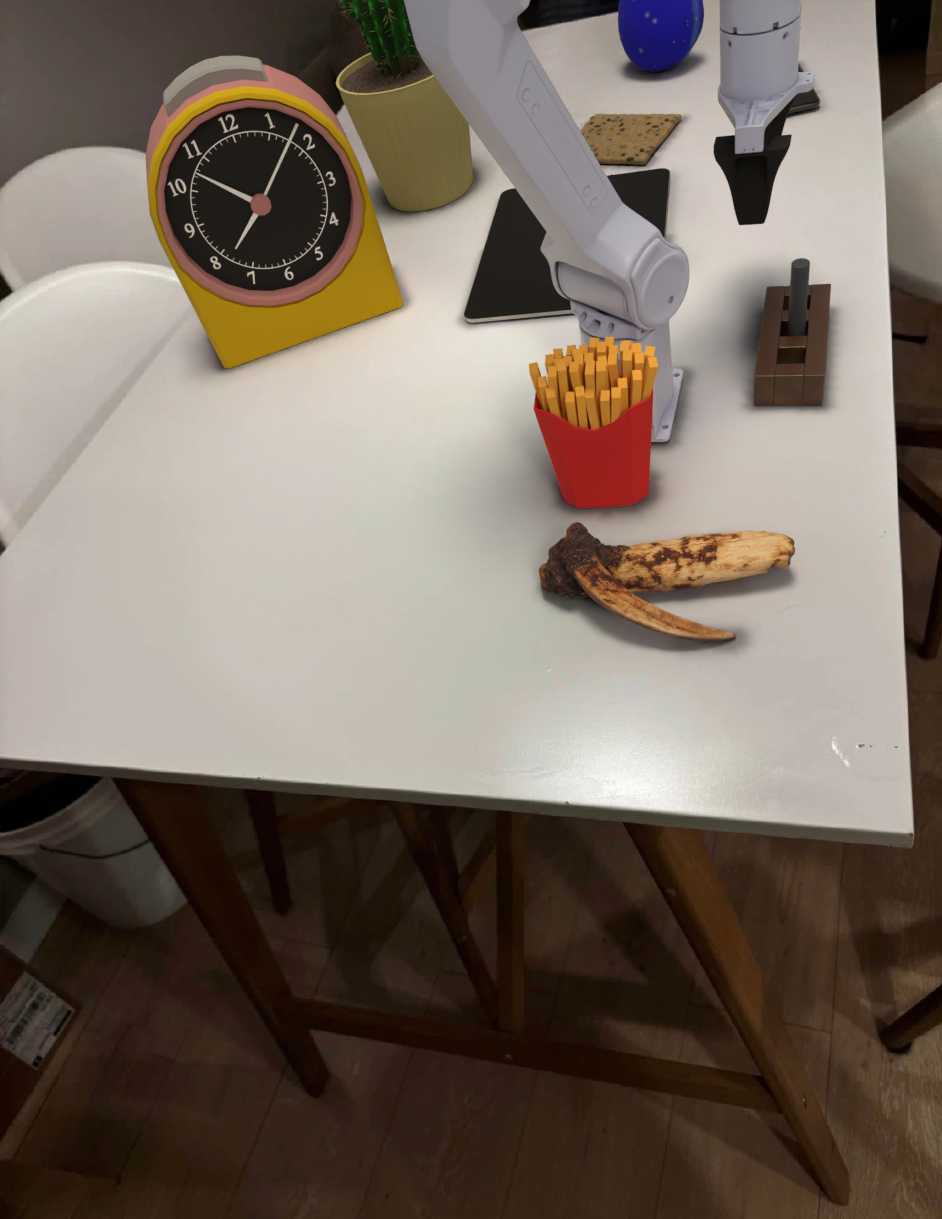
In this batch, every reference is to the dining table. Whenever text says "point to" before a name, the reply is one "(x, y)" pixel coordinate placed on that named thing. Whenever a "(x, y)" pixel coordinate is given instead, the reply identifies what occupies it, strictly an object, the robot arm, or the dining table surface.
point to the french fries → (598, 420)
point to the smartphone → (804, 99)
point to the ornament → (659, 31)
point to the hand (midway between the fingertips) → (756, 198)
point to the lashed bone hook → (658, 572)
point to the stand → (792, 350)
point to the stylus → (798, 297)
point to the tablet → (519, 269)
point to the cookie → (627, 136)
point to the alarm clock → (263, 209)
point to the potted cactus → (404, 112)
